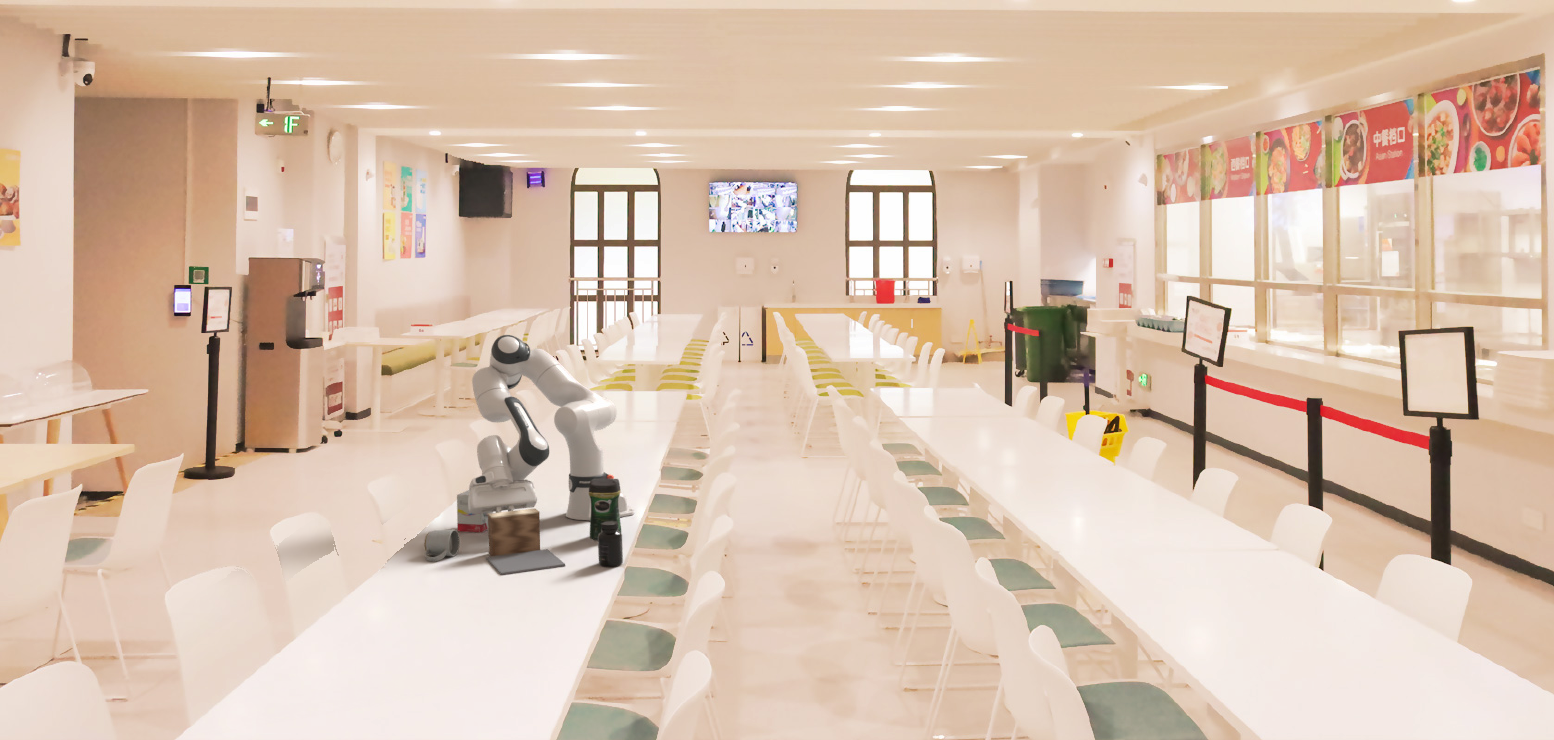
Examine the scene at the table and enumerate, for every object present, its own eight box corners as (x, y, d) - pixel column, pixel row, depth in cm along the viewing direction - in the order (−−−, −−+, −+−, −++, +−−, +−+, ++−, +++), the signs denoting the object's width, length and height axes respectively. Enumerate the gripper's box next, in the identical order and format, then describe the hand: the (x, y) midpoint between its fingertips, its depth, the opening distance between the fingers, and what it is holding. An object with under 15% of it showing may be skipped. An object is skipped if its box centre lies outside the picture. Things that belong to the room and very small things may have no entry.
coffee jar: (623, 534, 338) (622, 476, 336) (618, 541, 331) (617, 481, 328) (592, 534, 339) (591, 475, 337) (587, 541, 331) (586, 481, 329)
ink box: (481, 533, 339) (480, 496, 338) (456, 531, 341) (455, 494, 340) (494, 526, 348) (493, 490, 346) (469, 524, 349) (468, 488, 348)
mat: (547, 550, 320) (547, 549, 320) (565, 566, 305) (565, 564, 305) (486, 559, 312) (486, 557, 311) (501, 575, 297) (501, 572, 297)
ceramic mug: (433, 551, 319) (432, 525, 318) (460, 552, 318) (459, 526, 317) (418, 562, 309) (417, 536, 308) (445, 563, 308) (444, 537, 307)
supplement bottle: (610, 559, 312) (609, 518, 311) (627, 563, 308) (627, 522, 307) (593, 565, 306) (592, 523, 305) (611, 569, 303) (610, 527, 301)
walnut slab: (536, 547, 324) (535, 508, 322) (540, 551, 320) (539, 511, 318) (488, 553, 317) (487, 513, 316) (492, 557, 313) (491, 517, 312)
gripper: (530, 484, 338) (539, 522, 330) (463, 491, 328) (471, 530, 321) (533, 473, 333) (543, 511, 326) (466, 480, 324) (474, 519, 316)
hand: (507, 521), depth 323 cm, fingers closed
